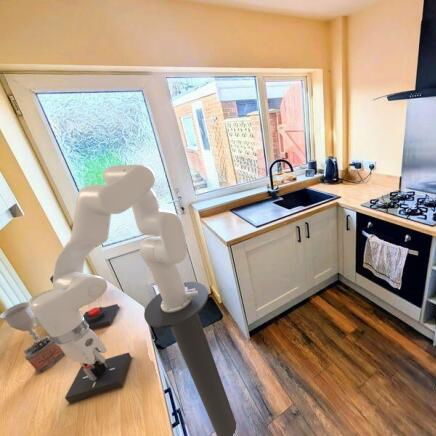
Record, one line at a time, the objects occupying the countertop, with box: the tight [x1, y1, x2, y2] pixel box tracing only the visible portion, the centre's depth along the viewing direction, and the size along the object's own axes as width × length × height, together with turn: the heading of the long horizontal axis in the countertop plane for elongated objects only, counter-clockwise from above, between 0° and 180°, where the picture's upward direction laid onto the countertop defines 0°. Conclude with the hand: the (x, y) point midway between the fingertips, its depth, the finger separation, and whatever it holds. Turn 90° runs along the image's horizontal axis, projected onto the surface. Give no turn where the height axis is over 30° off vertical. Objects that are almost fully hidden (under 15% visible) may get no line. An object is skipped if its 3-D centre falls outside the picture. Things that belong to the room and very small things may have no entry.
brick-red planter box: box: [23, 335, 65, 374], centre depth 83 cm, size 8×3×10 cm, turn 159°
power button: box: [87, 306, 101, 317], centre depth 99 cm, size 4×4×2 cm
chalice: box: [0, 301, 43, 344], centre depth 89 cm, size 7×7×18 cm
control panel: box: [64, 352, 133, 405], centre depth 77 cm, size 14×10×3 cm
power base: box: [83, 303, 120, 331], centre depth 100 cm, size 12×10×4 cm
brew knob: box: [83, 360, 107, 381], centre depth 75 cm, size 4×2×5 cm, turn 166°
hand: (98, 372), depth 76 cm, fingers closed on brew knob
